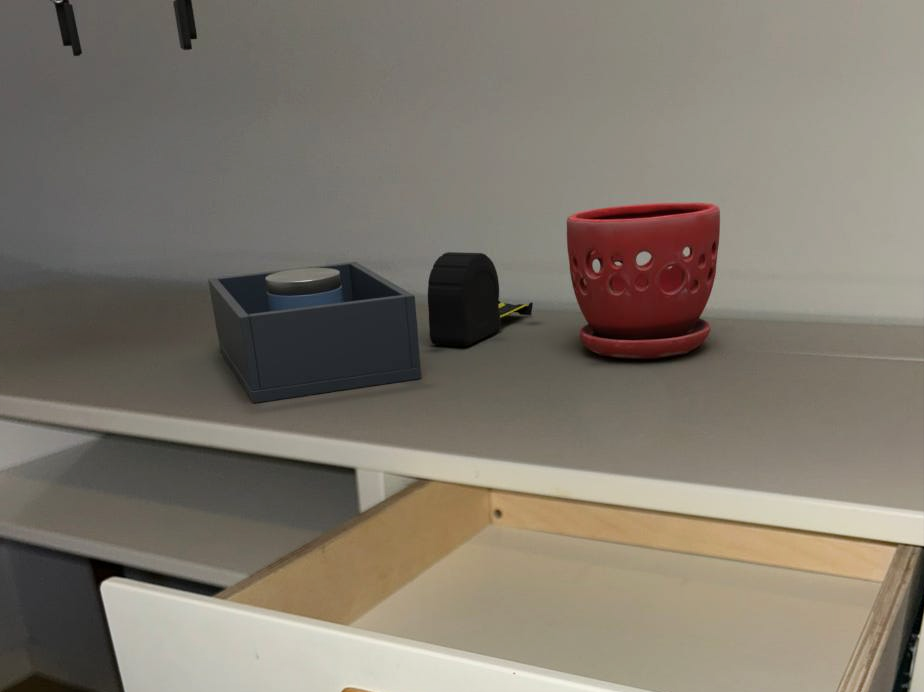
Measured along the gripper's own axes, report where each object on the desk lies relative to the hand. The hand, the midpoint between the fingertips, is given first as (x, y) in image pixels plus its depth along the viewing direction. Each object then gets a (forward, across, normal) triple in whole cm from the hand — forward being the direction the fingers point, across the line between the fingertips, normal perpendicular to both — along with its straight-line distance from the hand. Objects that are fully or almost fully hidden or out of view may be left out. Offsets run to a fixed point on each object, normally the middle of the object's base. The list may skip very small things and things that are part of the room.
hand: (132, 52), depth 97 cm
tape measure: (+26, -28, +12) cm, 40 cm away
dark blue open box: (+26, -10, +16) cm, 32 cm away
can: (+25, -10, +16) cm, 32 cm away
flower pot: (+26, -38, +27) cm, 54 cm away
